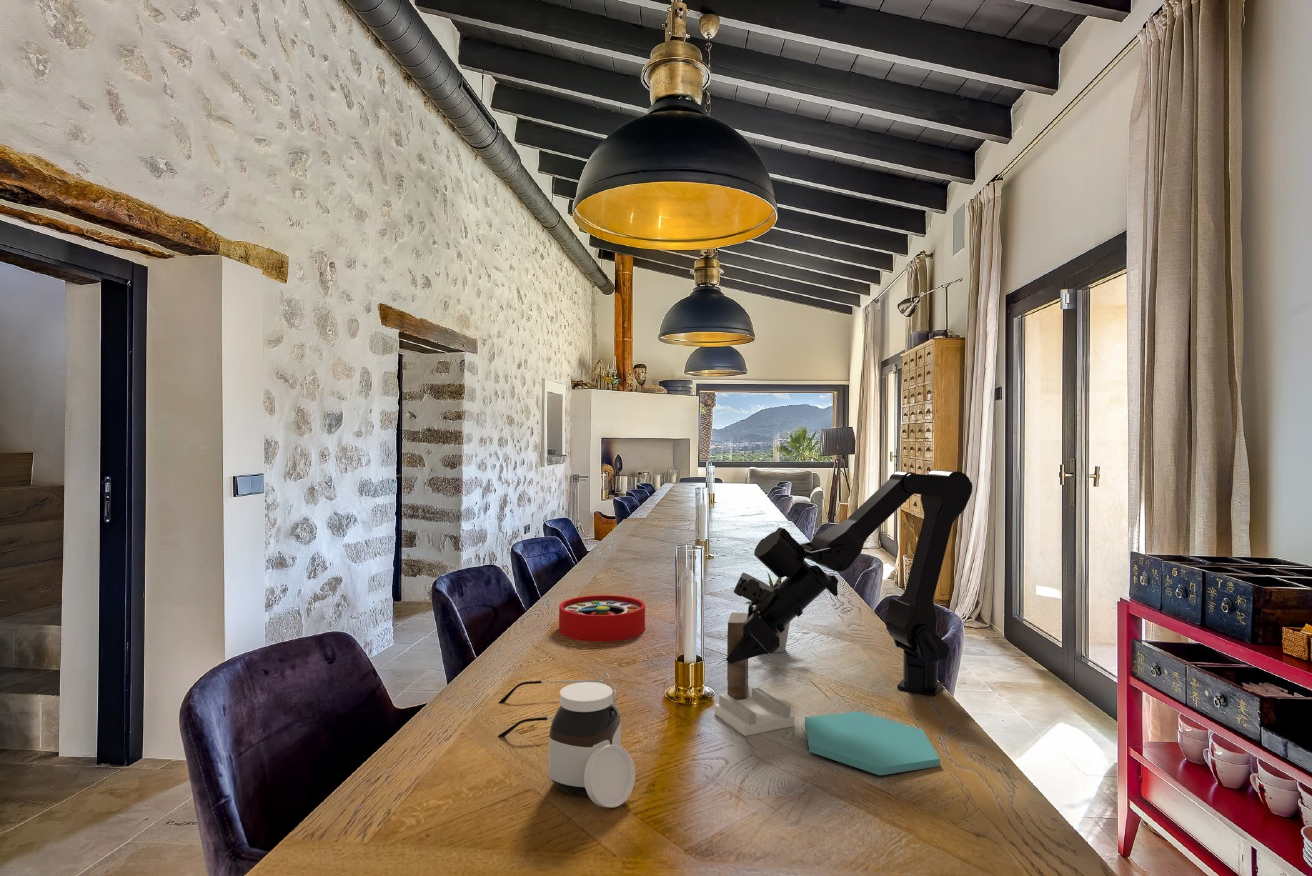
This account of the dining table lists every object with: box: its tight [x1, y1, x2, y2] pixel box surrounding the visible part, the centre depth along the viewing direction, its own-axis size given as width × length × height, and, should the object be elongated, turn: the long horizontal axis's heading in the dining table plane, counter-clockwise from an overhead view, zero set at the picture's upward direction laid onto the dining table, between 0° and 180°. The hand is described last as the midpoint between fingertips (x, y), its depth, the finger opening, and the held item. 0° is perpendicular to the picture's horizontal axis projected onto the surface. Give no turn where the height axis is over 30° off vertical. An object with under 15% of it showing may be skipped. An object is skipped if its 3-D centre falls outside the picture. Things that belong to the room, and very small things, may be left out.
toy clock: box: [558, 594, 646, 643], centre depth 159 cm, size 20×6×20 cm
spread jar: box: [548, 682, 636, 809], centre depth 86 cm, size 12×11×12 cm
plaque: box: [804, 710, 941, 776], centre depth 99 cm, size 18×2×20 cm
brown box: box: [726, 612, 749, 700], centre depth 119 cm, size 3×7×13 cm, turn 168°
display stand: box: [714, 687, 795, 737], centre depth 107 cm, size 9×9×3 cm
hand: (730, 653), depth 119 cm, fingers open, 9 cm apart
